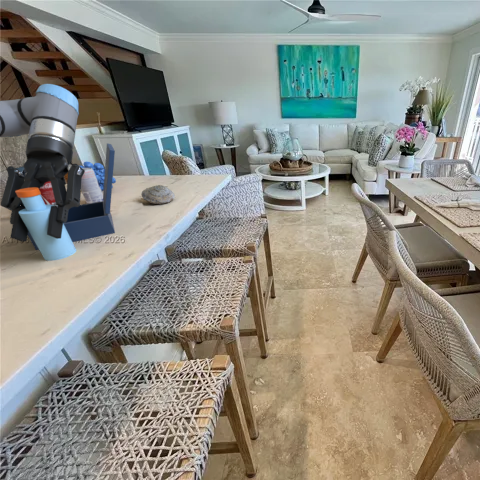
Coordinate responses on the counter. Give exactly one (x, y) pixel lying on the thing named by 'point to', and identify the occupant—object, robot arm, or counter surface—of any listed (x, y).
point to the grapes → (98, 173)
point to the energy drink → (90, 187)
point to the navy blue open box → (86, 222)
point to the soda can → (47, 194)
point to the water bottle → (43, 226)
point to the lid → (108, 177)
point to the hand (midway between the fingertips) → (36, 237)
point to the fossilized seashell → (158, 194)
